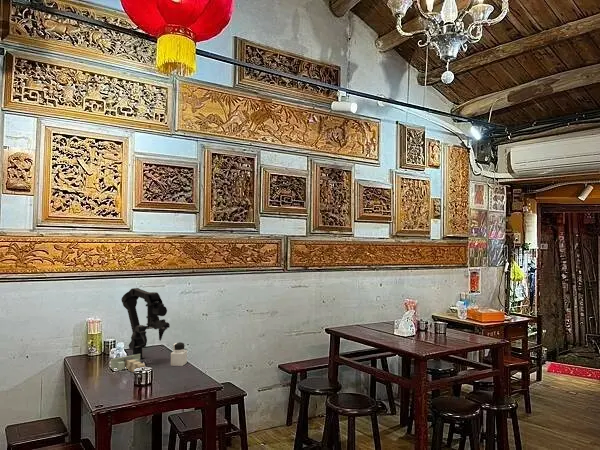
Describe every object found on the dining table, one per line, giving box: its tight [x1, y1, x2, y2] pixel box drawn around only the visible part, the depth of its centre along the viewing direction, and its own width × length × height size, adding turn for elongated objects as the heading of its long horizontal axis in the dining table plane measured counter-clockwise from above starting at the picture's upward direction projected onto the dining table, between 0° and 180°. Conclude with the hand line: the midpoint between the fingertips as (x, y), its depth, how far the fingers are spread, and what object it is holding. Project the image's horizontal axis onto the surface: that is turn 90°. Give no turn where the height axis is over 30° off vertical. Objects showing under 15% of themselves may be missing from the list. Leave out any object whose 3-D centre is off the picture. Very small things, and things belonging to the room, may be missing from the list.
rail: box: [124, 358, 146, 373], centre depth 261 cm, size 18×4×5 cm, turn 43°
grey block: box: [110, 354, 141, 371], centre depth 268 cm, size 6×16×6 cm, turn 133°
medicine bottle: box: [170, 342, 188, 367], centre depth 274 cm, size 7×7×12 cm
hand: (152, 341), depth 278 cm, fingers open, 9 cm apart
